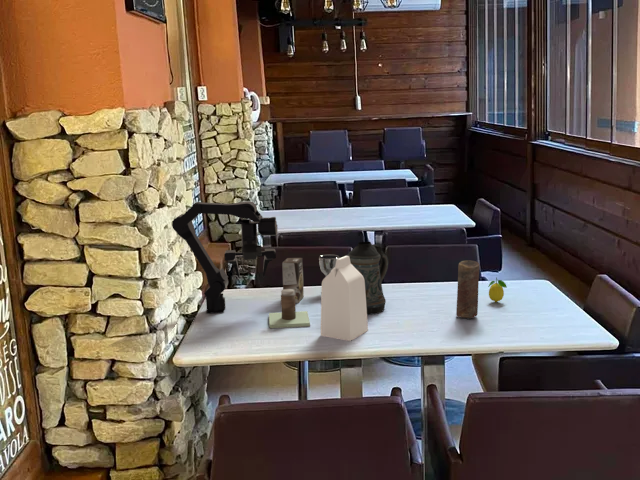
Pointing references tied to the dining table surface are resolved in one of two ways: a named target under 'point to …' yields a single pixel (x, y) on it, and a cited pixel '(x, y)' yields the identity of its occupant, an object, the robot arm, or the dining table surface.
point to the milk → (343, 302)
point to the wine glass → (327, 263)
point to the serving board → (299, 321)
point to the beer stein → (371, 273)
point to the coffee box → (293, 276)
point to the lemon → (496, 290)
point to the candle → (467, 289)
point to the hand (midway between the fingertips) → (251, 277)
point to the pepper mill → (288, 304)
